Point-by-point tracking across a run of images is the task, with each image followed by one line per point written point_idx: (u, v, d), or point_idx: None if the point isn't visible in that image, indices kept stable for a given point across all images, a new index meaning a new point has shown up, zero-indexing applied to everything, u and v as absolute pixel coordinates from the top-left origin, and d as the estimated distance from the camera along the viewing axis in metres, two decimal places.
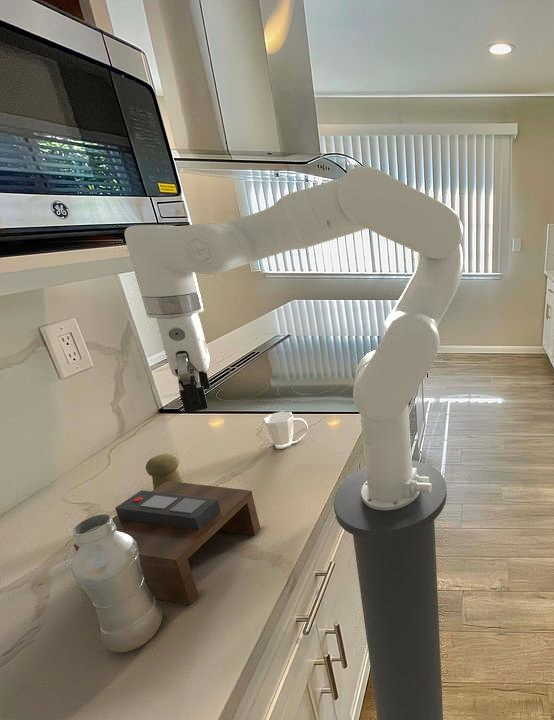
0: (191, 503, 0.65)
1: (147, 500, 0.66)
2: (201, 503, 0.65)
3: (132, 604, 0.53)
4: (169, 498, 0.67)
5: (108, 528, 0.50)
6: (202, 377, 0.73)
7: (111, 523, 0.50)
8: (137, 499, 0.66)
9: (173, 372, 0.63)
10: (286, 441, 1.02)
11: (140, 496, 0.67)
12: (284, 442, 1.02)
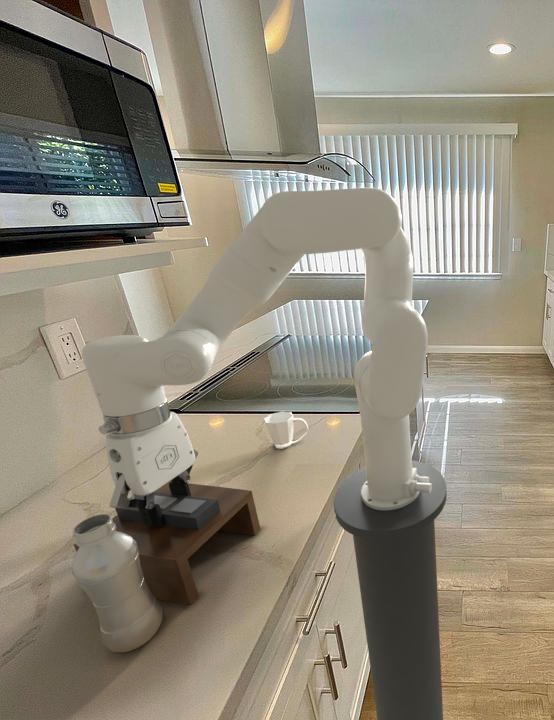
0: (191, 503, 0.65)
1: None
2: (201, 503, 0.65)
3: (132, 604, 0.53)
4: (169, 498, 0.67)
5: (108, 528, 0.50)
6: (182, 492, 0.67)
7: (111, 523, 0.50)
8: None
9: None
10: (286, 441, 1.02)
11: None
12: (284, 442, 1.02)
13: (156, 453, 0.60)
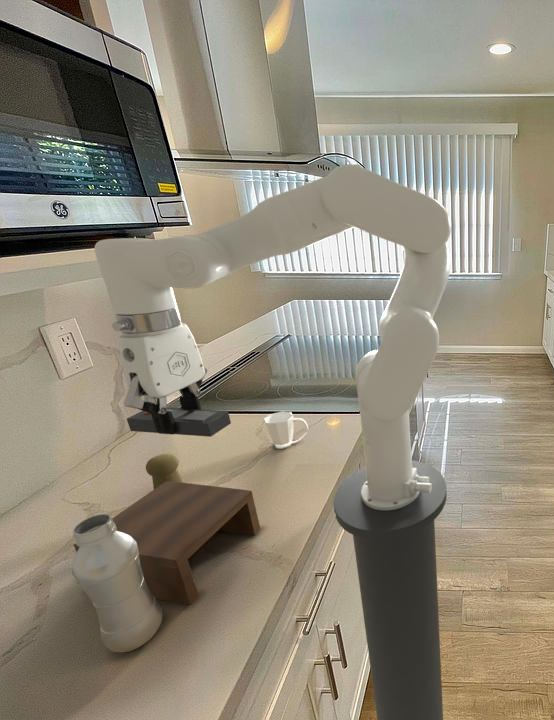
0: (202, 414, 0.66)
1: None
2: (212, 414, 0.66)
3: (132, 604, 0.53)
4: (180, 411, 0.68)
5: (108, 528, 0.50)
6: (193, 406, 0.68)
7: (111, 523, 0.50)
8: None
9: None
10: (286, 441, 1.02)
11: None
12: (284, 442, 1.02)
13: (168, 357, 0.61)
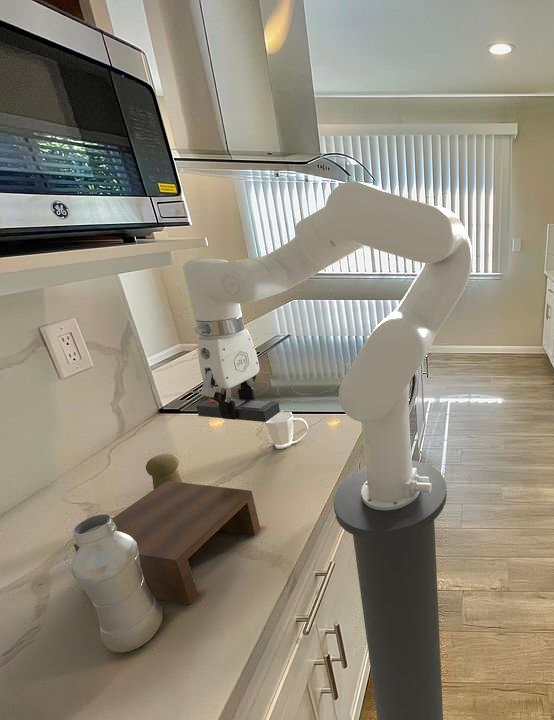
0: (257, 403, 0.80)
1: None
2: (265, 403, 0.80)
3: (132, 604, 0.53)
4: (238, 400, 0.81)
5: (108, 528, 0.50)
6: (249, 397, 0.82)
7: (111, 523, 0.50)
8: (212, 400, 0.81)
9: None
10: (286, 441, 1.02)
11: None
12: (284, 442, 1.02)
13: (234, 356, 0.75)
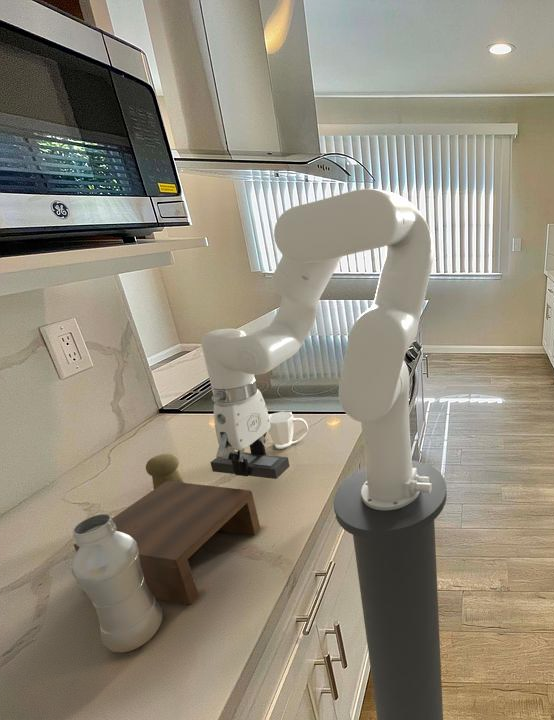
0: (268, 459, 0.84)
1: None
2: (276, 459, 0.84)
3: (132, 604, 0.53)
4: (250, 456, 0.86)
5: (108, 528, 0.50)
6: (260, 452, 0.86)
7: (111, 523, 0.50)
8: None
9: None
10: (286, 441, 1.02)
11: None
12: (284, 442, 1.02)
13: (248, 418, 0.79)
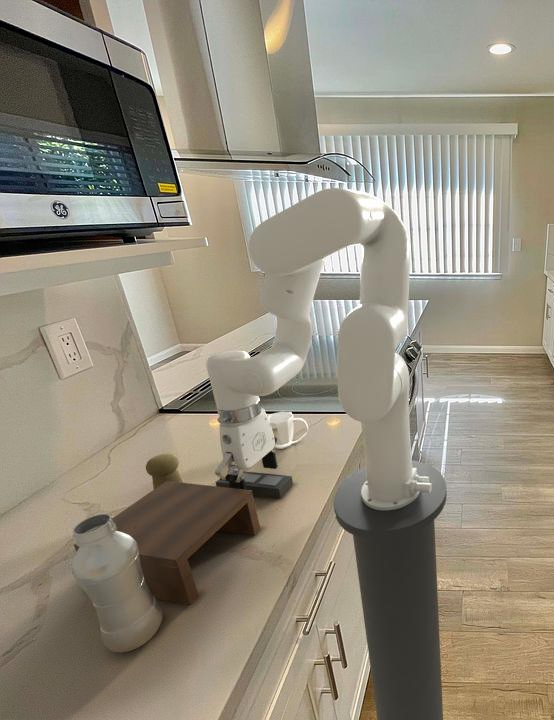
0: (272, 478, 0.86)
1: None
2: (280, 479, 0.86)
3: (132, 604, 0.53)
4: (254, 475, 0.87)
5: (108, 528, 0.50)
6: (271, 460, 0.90)
7: (111, 523, 0.50)
8: None
9: None
10: (286, 441, 1.02)
11: None
12: (284, 442, 1.02)
13: (253, 438, 0.81)
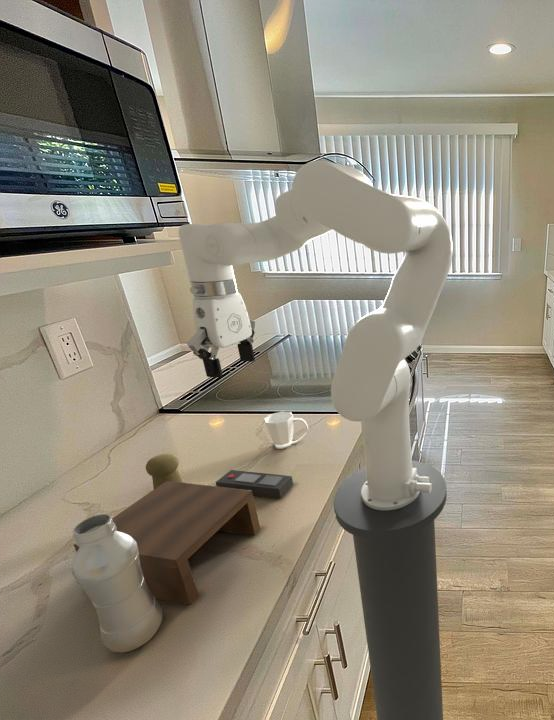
0: (272, 478, 0.86)
1: (238, 476, 0.87)
2: (280, 479, 0.86)
3: (132, 604, 0.53)
4: (254, 475, 0.87)
5: (108, 528, 0.50)
6: (248, 351, 0.88)
7: (111, 523, 0.50)
8: (230, 476, 0.87)
9: None
10: (286, 441, 1.02)
11: (232, 474, 0.88)
12: (284, 442, 1.02)
13: (228, 317, 0.79)
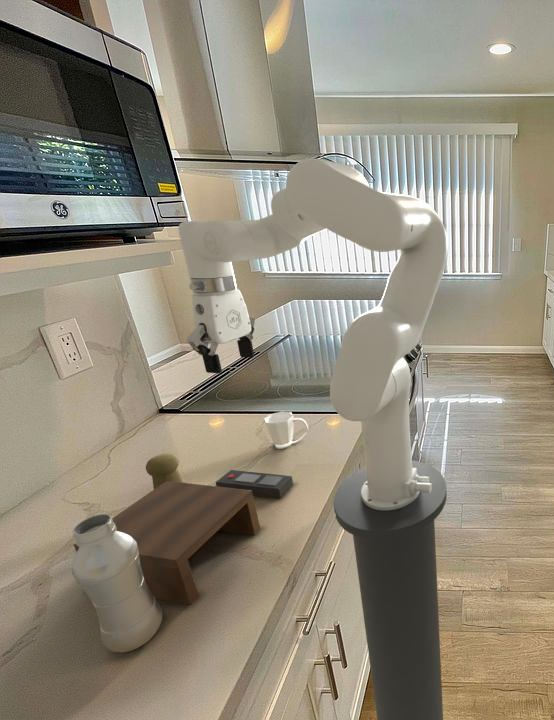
0: (272, 478, 0.86)
1: (238, 476, 0.87)
2: (280, 479, 0.86)
3: (132, 604, 0.53)
4: (254, 475, 0.87)
5: (108, 528, 0.50)
6: (247, 347, 0.89)
7: (111, 523, 0.50)
8: (230, 476, 0.87)
9: None
10: (286, 441, 1.02)
11: (232, 474, 0.88)
12: (284, 442, 1.02)
13: (227, 313, 0.80)
